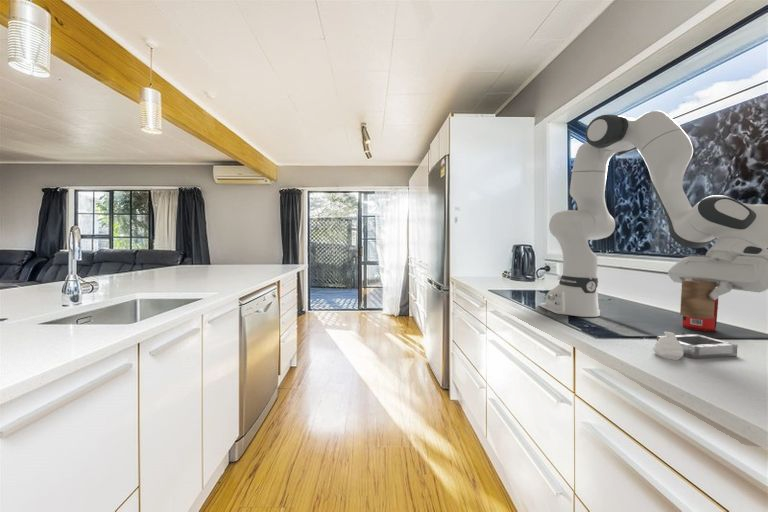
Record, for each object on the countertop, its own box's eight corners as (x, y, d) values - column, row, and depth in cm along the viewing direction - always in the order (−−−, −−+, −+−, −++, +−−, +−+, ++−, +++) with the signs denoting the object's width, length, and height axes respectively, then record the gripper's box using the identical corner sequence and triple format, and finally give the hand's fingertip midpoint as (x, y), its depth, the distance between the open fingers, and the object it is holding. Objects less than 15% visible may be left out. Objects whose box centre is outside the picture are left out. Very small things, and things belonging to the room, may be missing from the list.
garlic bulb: (676, 330, 81) (690, 336, 76) (674, 353, 82) (688, 361, 77) (650, 328, 83) (662, 334, 78) (649, 351, 83) (660, 359, 78)
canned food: (722, 332, 102) (725, 297, 101) (692, 330, 103) (695, 296, 103) (704, 326, 109) (706, 293, 109) (676, 324, 111) (678, 292, 110)
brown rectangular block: (680, 315, 85) (682, 280, 84) (695, 314, 86) (697, 280, 85) (697, 318, 81) (699, 282, 80) (713, 318, 82) (715, 282, 81)
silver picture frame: (656, 346, 87) (657, 336, 87) (696, 344, 89) (696, 334, 89) (693, 358, 78) (694, 347, 78) (736, 356, 81) (737, 344, 80)
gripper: (680, 247, 94) (650, 281, 93) (777, 249, 74) (740, 293, 72) (692, 263, 95) (662, 297, 94) (791, 269, 75) (755, 313, 73)
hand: (697, 295), depth 83 cm, fingers closed on brown rectangular block, 4 cm apart
